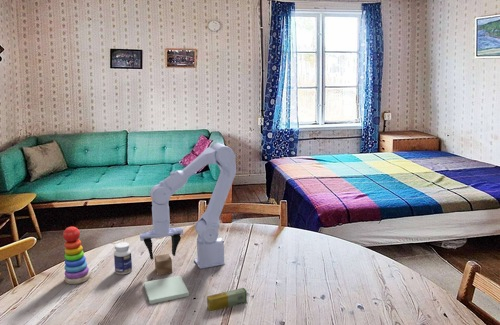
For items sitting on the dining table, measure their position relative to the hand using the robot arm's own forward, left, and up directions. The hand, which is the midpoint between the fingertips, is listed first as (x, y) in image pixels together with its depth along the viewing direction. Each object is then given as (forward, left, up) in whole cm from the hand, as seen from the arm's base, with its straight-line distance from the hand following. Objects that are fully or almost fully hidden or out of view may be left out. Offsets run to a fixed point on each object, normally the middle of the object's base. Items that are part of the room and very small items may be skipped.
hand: (162, 256), depth 144 cm
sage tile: (+2, +14, -5) cm, 15 cm away
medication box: (-13, +29, -6) cm, 33 cm away
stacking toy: (+28, -5, -6) cm, 29 cm away
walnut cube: (0, 0, -6) cm, 6 cm away
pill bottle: (+13, -5, -6) cm, 15 cm away
